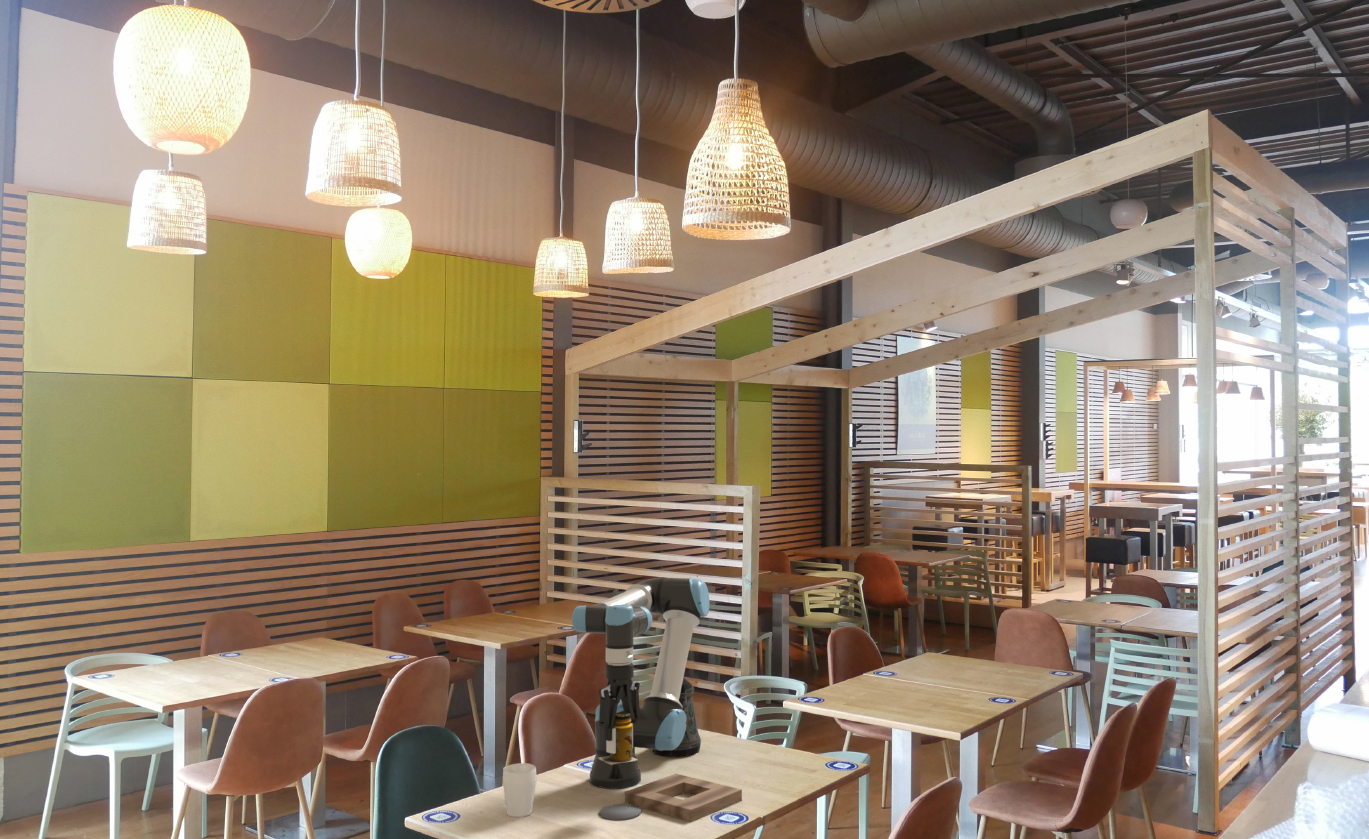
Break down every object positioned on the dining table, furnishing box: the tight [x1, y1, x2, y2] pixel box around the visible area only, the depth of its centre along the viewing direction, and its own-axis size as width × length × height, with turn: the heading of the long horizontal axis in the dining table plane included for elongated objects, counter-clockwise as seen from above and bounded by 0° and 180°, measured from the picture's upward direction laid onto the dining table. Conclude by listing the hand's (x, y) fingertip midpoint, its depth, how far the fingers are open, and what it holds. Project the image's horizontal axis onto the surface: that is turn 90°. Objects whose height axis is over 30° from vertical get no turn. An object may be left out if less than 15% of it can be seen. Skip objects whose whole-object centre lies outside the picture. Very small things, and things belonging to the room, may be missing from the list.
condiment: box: [599, 712, 639, 765], centre depth 274 cm, size 7×8×12 cm
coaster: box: [598, 803, 642, 821], centre depth 274 cm, size 11×11×1 cm
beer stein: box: [651, 677, 702, 758], centre depth 335 cm, size 16×19×25 cm
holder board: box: [623, 773, 743, 822], centre depth 283 cm, size 24×22×3 cm
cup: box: [502, 762, 538, 818], centre depth 275 cm, size 9×9×12 cm
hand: (619, 749), depth 275 cm, fingers closed on condiment, 6 cm apart
